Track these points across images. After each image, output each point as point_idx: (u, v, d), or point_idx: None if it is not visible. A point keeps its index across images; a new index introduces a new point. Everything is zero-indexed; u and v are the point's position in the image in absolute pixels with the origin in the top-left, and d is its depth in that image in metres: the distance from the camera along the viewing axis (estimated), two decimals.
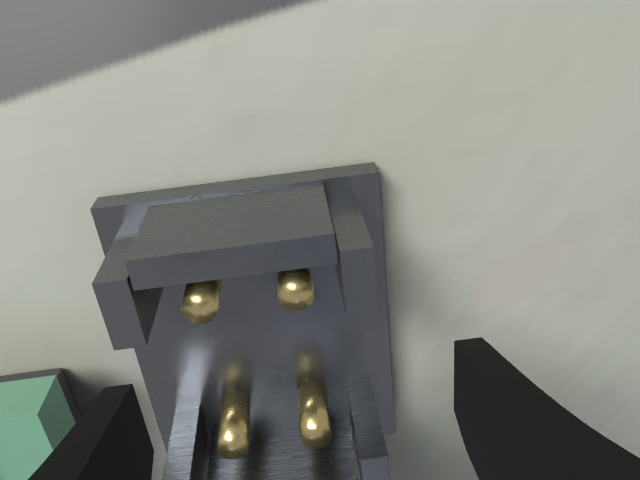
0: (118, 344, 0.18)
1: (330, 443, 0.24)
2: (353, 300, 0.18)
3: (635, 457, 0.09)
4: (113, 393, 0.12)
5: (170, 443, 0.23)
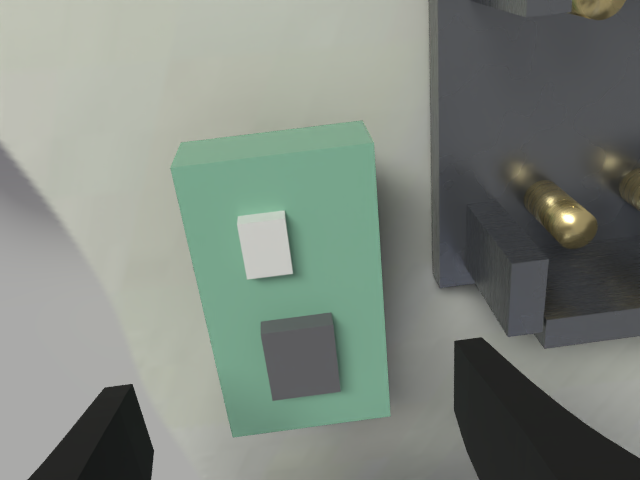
0: (535, 6, 0.13)
1: None
2: None
3: (635, 457, 0.09)
4: (113, 393, 0.12)
5: (487, 229, 0.17)
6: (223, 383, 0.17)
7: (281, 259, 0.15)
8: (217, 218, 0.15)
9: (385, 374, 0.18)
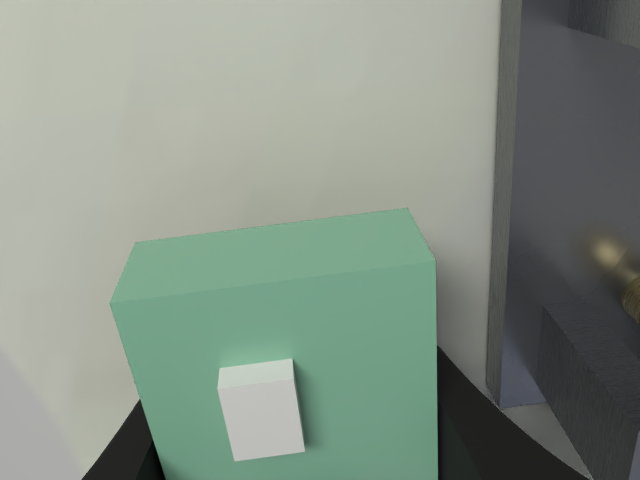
0: None
1: None
2: None
3: (567, 467, 0.09)
4: None
5: (584, 355, 0.12)
6: None
7: (286, 433, 0.10)
8: (187, 371, 0.10)
9: None
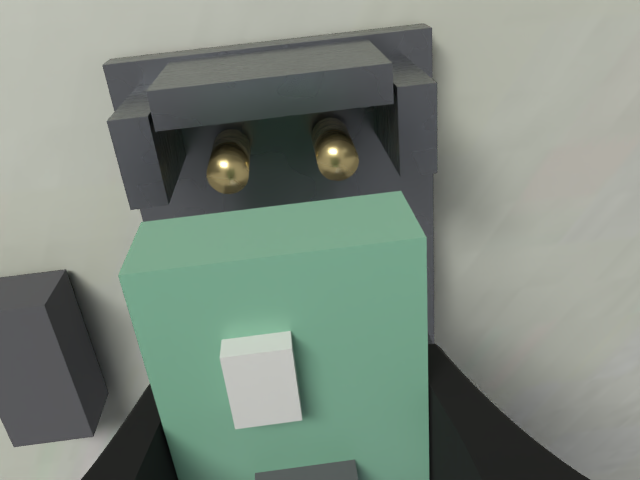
0: (135, 202, 0.15)
1: None
2: (409, 153, 0.15)
3: (567, 466, 0.09)
4: None
5: None
6: None
7: (285, 402, 0.10)
8: (191, 343, 0.10)
9: None
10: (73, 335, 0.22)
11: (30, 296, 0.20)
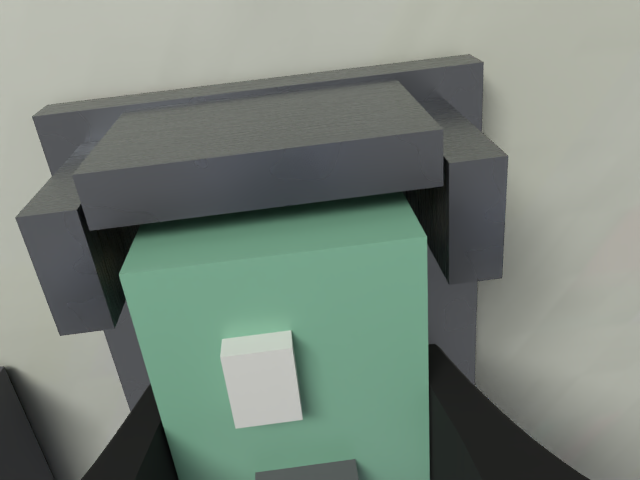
0: (66, 325, 0.11)
1: None
2: (463, 252, 0.11)
3: (567, 467, 0.09)
4: None
5: None
6: None
7: (285, 401, 0.10)
8: (192, 342, 0.10)
9: None
10: (14, 451, 0.17)
11: None
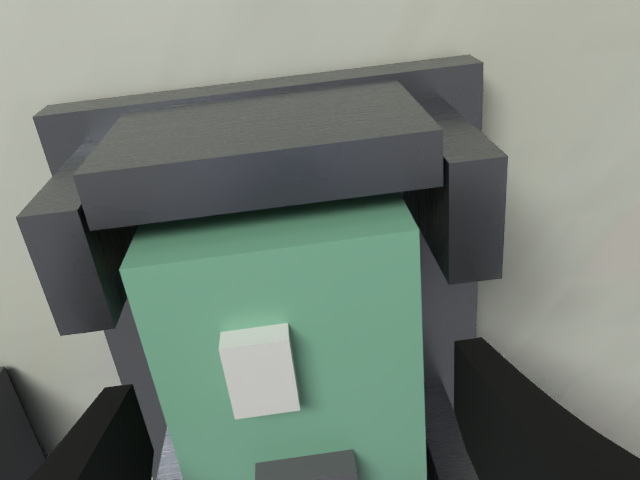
0: (67, 325, 0.11)
1: None
2: (463, 252, 0.11)
3: (635, 457, 0.09)
4: (113, 393, 0.12)
5: (158, 477, 0.15)
6: None
7: (283, 392, 0.10)
8: (191, 335, 0.10)
9: None
10: (14, 451, 0.17)
11: None
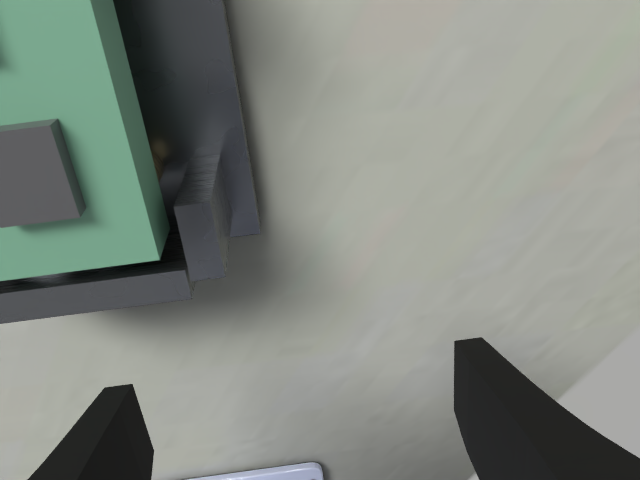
0: None
1: None
2: None
3: (635, 457, 0.09)
4: (113, 393, 0.12)
5: None
6: None
7: None
8: None
9: (141, 204, 0.15)
10: None
11: None
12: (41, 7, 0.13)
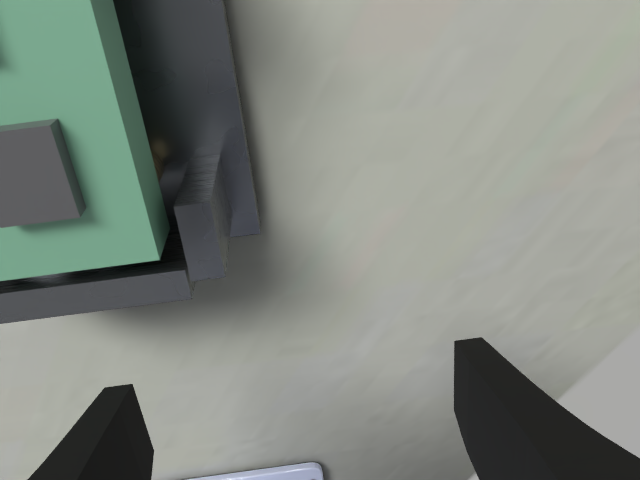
0: None
1: None
2: None
3: (635, 457, 0.09)
4: (113, 393, 0.12)
5: None
6: None
7: None
8: None
9: (141, 204, 0.15)
10: None
11: None
12: (41, 7, 0.13)
